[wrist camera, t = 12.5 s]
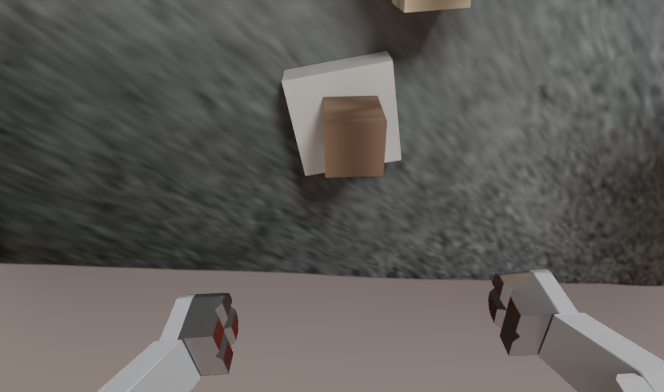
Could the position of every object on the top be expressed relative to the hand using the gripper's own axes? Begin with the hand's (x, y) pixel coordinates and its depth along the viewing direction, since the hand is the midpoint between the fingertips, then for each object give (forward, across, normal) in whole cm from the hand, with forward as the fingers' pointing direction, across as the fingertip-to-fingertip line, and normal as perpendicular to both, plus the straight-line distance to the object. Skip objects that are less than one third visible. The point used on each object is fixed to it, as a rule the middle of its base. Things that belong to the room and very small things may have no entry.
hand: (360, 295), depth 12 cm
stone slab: (+30, 0, +5) cm, 30 cm away
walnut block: (+26, -1, +5) cm, 26 cm away
